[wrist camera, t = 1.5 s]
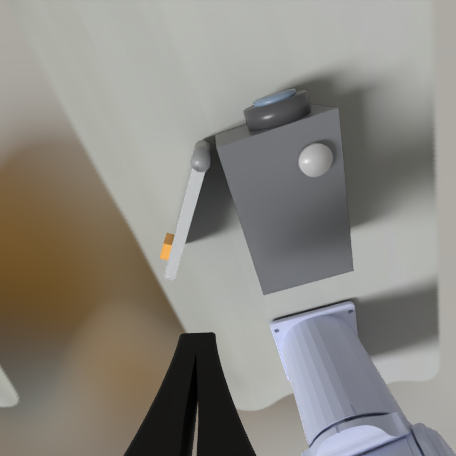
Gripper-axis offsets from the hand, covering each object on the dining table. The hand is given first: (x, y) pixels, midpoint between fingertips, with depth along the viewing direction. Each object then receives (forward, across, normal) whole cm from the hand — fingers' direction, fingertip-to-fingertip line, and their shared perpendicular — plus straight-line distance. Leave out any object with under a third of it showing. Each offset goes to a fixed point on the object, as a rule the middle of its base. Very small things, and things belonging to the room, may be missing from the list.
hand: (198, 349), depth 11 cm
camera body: (+10, -5, -3) cm, 12 cm away
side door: (+10, +1, -3) cm, 10 cm away
